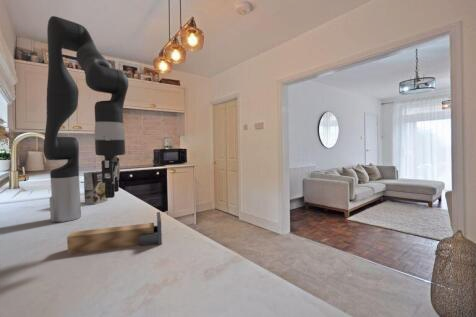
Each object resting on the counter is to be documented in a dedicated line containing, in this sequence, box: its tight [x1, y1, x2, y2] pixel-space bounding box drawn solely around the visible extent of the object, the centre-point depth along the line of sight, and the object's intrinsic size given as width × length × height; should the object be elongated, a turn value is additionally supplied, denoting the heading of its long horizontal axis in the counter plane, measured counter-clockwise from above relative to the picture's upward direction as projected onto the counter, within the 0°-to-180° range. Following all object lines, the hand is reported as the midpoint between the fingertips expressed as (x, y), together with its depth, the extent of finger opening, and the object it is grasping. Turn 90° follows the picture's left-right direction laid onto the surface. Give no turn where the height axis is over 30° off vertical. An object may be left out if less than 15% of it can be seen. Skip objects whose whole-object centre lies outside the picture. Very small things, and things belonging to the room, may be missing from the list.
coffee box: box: [83, 170, 109, 205], centre depth 122 cm, size 9×6×16 cm
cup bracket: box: [139, 211, 163, 247], centre depth 72 cm, size 6×10×7 cm, turn 20°
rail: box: [66, 222, 155, 255], centre depth 68 cm, size 22×4×5 cm, turn 109°
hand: (112, 194), depth 68 cm, fingers open, 8 cm apart
